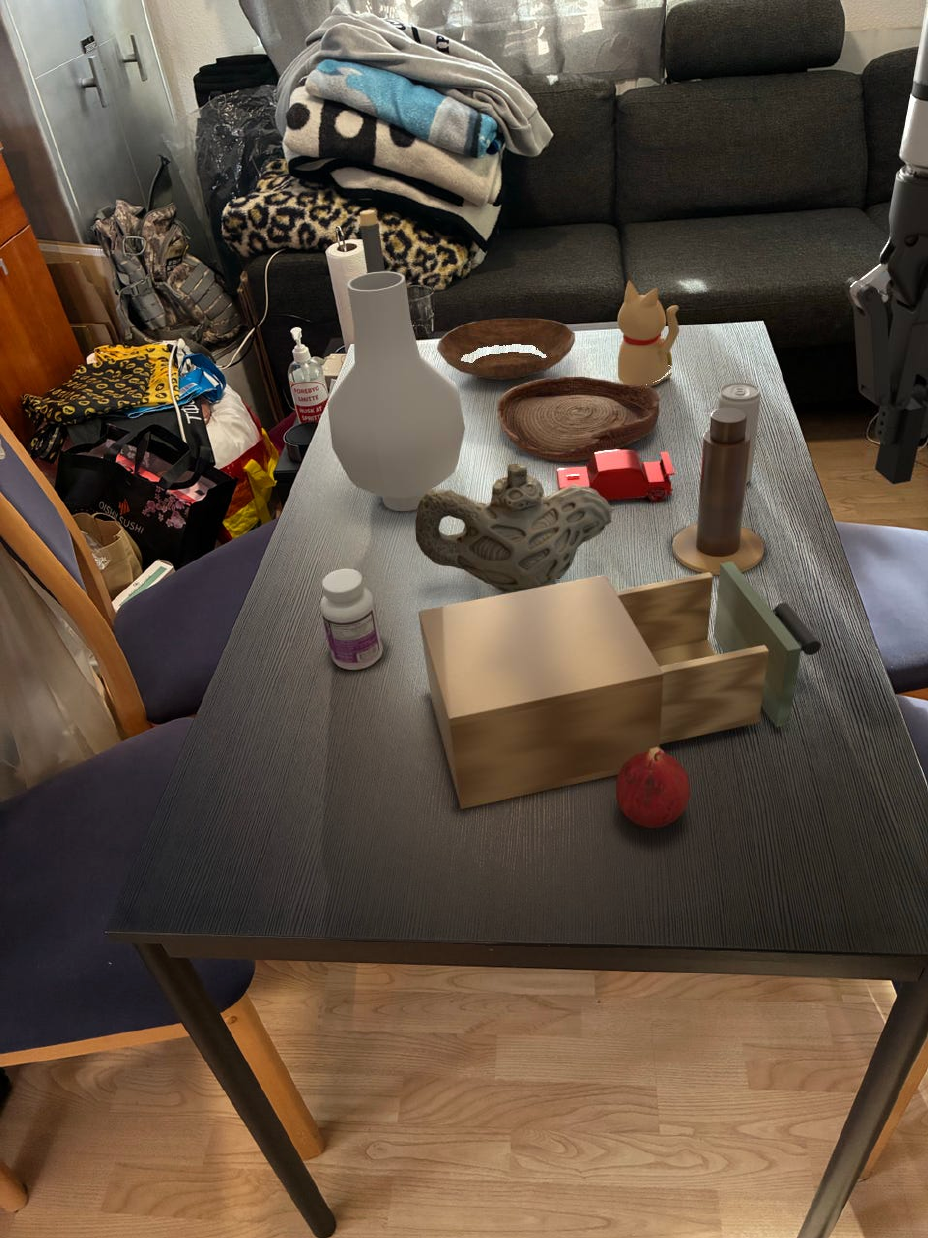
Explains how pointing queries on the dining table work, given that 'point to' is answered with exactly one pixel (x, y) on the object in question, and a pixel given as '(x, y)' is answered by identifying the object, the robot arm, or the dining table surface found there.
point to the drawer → (726, 683)
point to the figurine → (645, 338)
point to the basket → (576, 416)
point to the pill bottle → (350, 620)
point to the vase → (393, 401)
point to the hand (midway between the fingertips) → (892, 474)
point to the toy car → (621, 475)
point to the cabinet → (540, 688)
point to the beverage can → (747, 401)
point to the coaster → (703, 563)
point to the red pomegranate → (652, 788)
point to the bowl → (501, 332)
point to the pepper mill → (723, 483)
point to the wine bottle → (371, 242)
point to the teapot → (512, 530)
